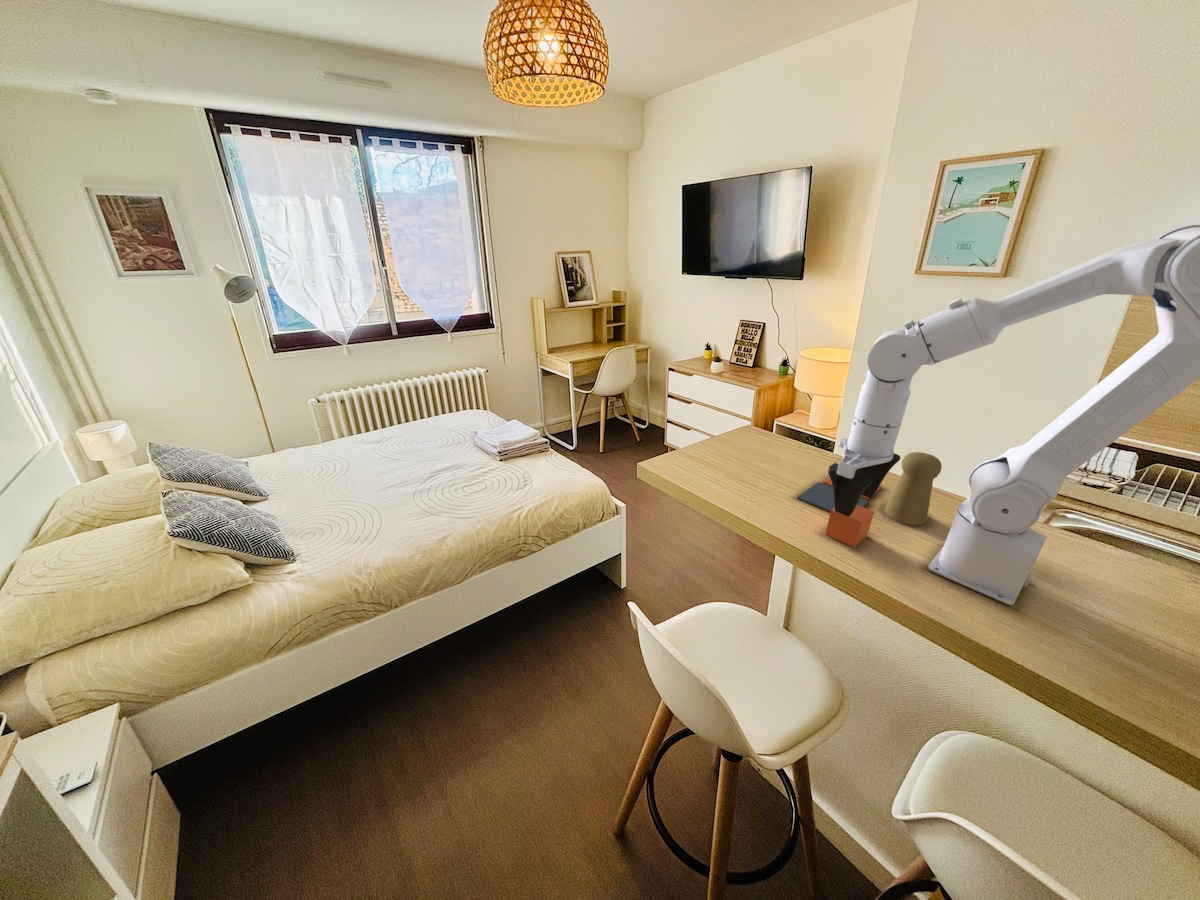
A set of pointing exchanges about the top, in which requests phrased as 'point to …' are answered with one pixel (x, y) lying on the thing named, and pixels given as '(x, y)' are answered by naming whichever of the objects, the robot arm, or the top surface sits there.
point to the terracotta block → (849, 525)
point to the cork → (913, 489)
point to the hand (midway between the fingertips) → (854, 503)
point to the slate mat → (823, 497)
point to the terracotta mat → (829, 482)
